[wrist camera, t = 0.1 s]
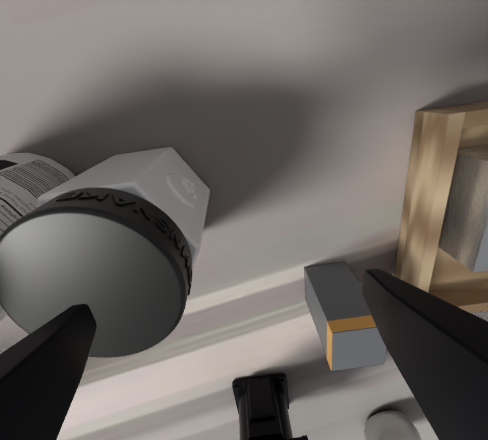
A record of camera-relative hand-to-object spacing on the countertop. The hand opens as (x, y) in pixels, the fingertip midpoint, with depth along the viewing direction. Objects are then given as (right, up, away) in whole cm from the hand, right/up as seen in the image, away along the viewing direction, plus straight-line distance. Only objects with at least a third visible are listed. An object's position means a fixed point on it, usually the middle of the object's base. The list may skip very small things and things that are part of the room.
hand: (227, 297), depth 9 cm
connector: (+9, -4, +18) cm, 21 cm away
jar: (-7, +4, +14) cm, 16 cm away
